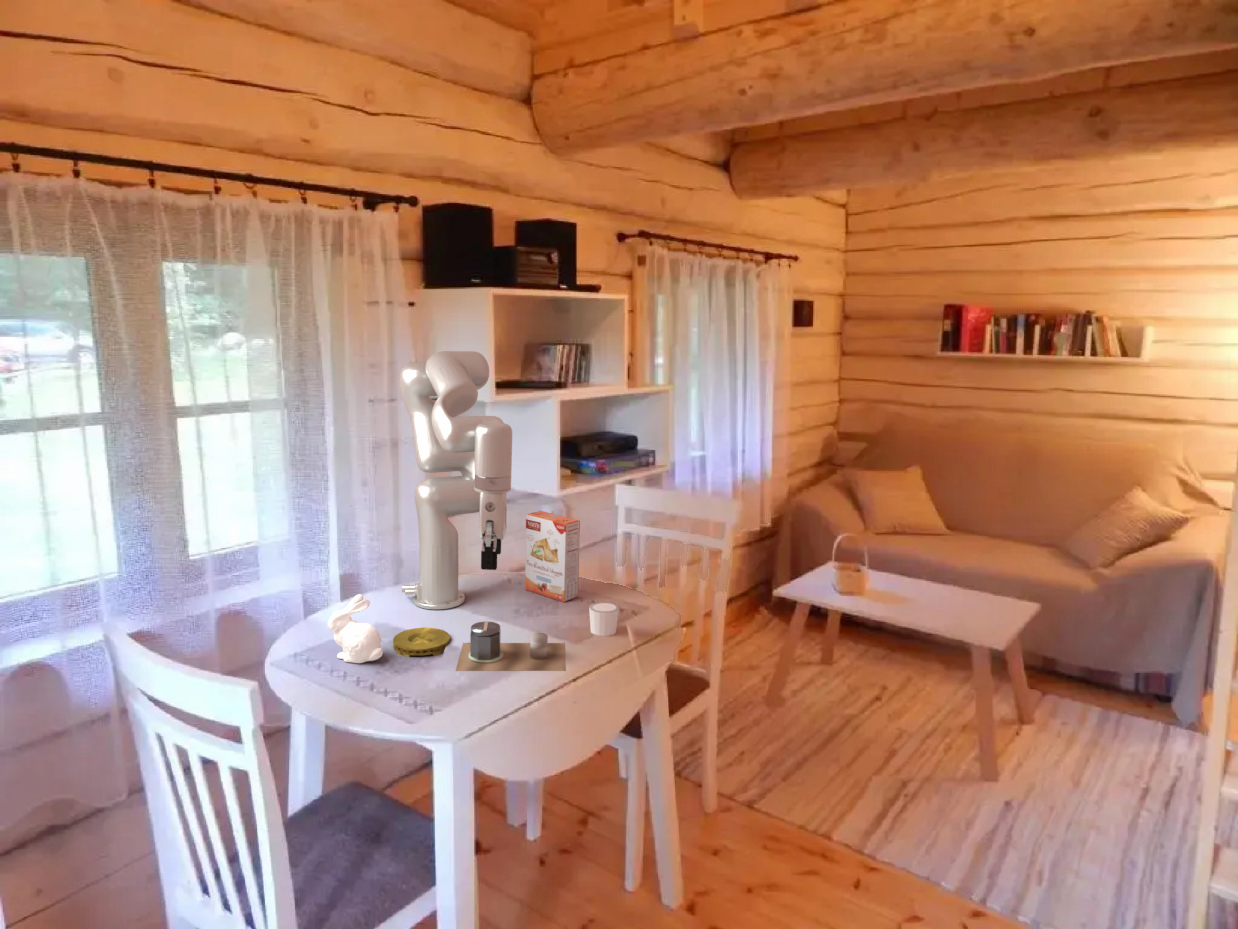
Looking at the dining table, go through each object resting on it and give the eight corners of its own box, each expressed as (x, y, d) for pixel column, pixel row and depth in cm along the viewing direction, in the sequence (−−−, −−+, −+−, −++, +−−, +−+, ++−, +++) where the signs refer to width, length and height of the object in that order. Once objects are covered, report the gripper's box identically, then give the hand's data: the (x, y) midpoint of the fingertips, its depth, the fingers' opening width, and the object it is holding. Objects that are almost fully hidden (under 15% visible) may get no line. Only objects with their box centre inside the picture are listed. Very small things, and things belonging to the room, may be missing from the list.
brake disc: (392, 660, 172) (391, 650, 172) (394, 638, 184) (394, 629, 184) (450, 657, 175) (450, 647, 175) (449, 635, 187) (449, 626, 186)
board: (455, 676, 165) (455, 649, 164) (463, 648, 179) (463, 623, 178) (565, 676, 167) (565, 649, 166) (564, 648, 181) (564, 623, 180)
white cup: (601, 628, 193) (602, 599, 192) (624, 635, 189) (625, 606, 188) (582, 636, 188) (582, 607, 187) (605, 644, 184) (605, 614, 182)
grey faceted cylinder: (498, 660, 170) (499, 631, 169) (469, 660, 169) (469, 631, 168) (500, 648, 176) (501, 621, 175) (472, 648, 175) (472, 620, 174)
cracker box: (523, 590, 217) (524, 513, 213) (539, 585, 221) (540, 509, 218) (563, 603, 208) (565, 523, 205) (579, 597, 213) (581, 519, 209)
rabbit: (323, 658, 172) (321, 603, 170) (355, 642, 180) (353, 590, 178) (369, 670, 167) (368, 614, 165) (399, 653, 175) (398, 599, 173)
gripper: (507, 493, 162) (505, 576, 165) (513, 473, 178) (512, 548, 182) (469, 492, 161) (468, 575, 165) (479, 472, 178) (477, 547, 182)
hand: (491, 561), depth 173 cm, fingers open, 9 cm apart
